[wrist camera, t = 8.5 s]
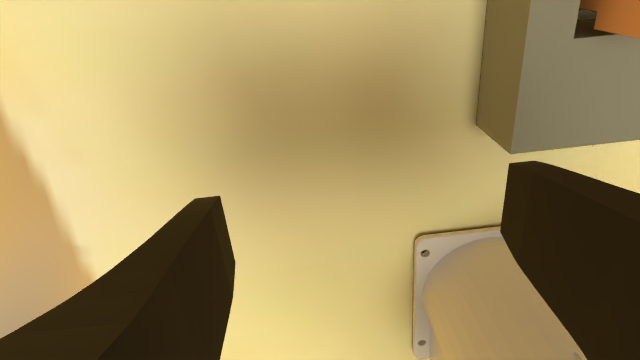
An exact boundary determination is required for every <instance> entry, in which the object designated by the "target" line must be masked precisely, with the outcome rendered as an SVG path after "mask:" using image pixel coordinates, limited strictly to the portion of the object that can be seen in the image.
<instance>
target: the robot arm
mask: <svg viewBox="0 0 640 360" xmlns="http://www.w3.org/2000/svg"><path fill="white" fill-rule="evenodd" d="M423 250H427V251H426V252H425V253H421V252H422V251H423ZM234 275H235V259H234V255H233V250H232V246H231V242H230V237H229V233H228V229H227V224H226V220H225V216H224V211H223V207H222V203H221V198H220V196H214V197H206V198H197V199H194V200H193V201H191V202H190V203H189V204H188V205H186V206H185V207H184V208H183V209H182V210H181V211H180V212H178V213H177V214H176V215H175V216H174V217H173V218H172V219H171V220H170V221H168V222H167V223H166V224H165V225H164V226H163V227H162V228H161V229H159V230H158V231H157V232H156V233H155V234H154V235H153V236H152V237H150V238H149V239H148V240H147V241H146V242H145V243H143V244H142V245H141V246H140V247H138V248H137V249H136V250H135V251H134V252H132V253H131V254H130V255H129V256H127V257H126V258H125V259H124V260H122V261H121V262H120V263H119V264H117V265H116V266H115V267H114V268H112V269H111V270H110V271H108V272H107V273H106V274H104V275H103V276H102V277H100V278H99V279H97V280H96V281H95V282H93V283H92V284H90V285H89V286H87V287H86V288H84V289H83V290H82V291H80V292H78V293H77V294H75V295H74V296H72V297H71V298H69V299H68V300H66V301H65V302H63V303H61V304H60V305H58V306H56V307H55V308H53V309H51V310H50V311H48V312H46V313H45V314H43V315H41V316H39V317H38V318H36V319H34V320H32V321H31V322H29V323H27V324H26V325H24V326H22V327H20V328H19V329H17V330H15V331H14V332H12V333H10V334H8V335H6V336H5V337H3V338H1V339H0V360H220V356H221V351H222V347H223V342H224V337H225V333H226V328H227V323H228V319H229V314H230V309H231V304H232V299H233V289H234ZM420 340H421V341H420ZM413 353H414V356H415V357H416V358H419V359H423V358H431V360H640V194H639V193H636V192H633V191H630V190H627V189H624V188H620V187H617V186H614V185H611V184H608V183H605V182H602V181H600V180H597V179H594V178H591V177H588V176H585V175H582V174H579V173H576V172H573V171H570V170H567V169H563V168H560V167H557V166H554V165H550V164H546V163H542V162H537V161H527V162H518V163H509V169H508V176H507V184H506V191H505V199H504V206H503V214H502V221H501V226H498V227H490V228H481V229H472V230H464V231H455V232H446V233H438V234H429V235H422V236H420V237H418V238H417V239H416V241H415V252H414V303H413Z"/></svg>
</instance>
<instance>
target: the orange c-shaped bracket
mask: <svg viewBox="0 0 640 360" xmlns="http://www.w3.org/2000/svg"><path fill="white" fill-rule="evenodd" d="M579 9H585V10H592V11H597V16H596V20H595V25H594V29H596V30H601V31H606V32H611V33H615V34H620V35H625V36H630V37H635V38H639V39H640V0H581V1H580V6H579Z"/></svg>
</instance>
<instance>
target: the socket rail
mask: <svg viewBox="0 0 640 360" xmlns="http://www.w3.org/2000/svg"><path fill="white" fill-rule="evenodd" d="M580 1H581V0H487V11H486V22H485V33H484V44H483V55H482V67H481V78H480V89H479V100H478V111H477V123H476V125H477V126H478V127H479V128H480V129H481V130H482V131H484V132H485V133H486V134H487V135H488V136H490V137H491V138H492V139H493V140H494V141H495V142H497V143H498V144H499V145H500V146H501V147H503V148H504V149H505V150H506V151H507V152H508V153H510V154H516V153H525V152H533V151H542V150H551V149H560V148H569V147H578V146H587V145H596V144H605V143H614V142H623V141H632V140H640V39H639V38H635V37H630V36H625V35H620V34H615V33H611V32H606V31H601V30H596V29H594V25H595V20H596V19H591V20H581V21H577V17H578V12H579V6H580Z"/></svg>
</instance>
